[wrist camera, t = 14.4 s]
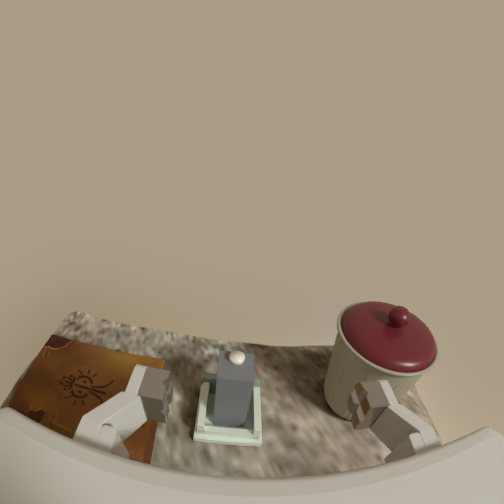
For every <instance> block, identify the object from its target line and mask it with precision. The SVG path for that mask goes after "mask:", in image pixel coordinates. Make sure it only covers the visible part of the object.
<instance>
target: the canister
mask: <svg viewBox="0 0 504 504" xmlns="http://www.w3.org/2000/svg"><path fill="white" fill-rule="evenodd" d="M337 329H338V334H337V337H336V341H335V345H334V348H333V352H332V355H331V359H330V362H329V366H328V370H327V374H326V377H325V382H324V395H325V399H326V400H327V403H328V405H329V406H330V408H331V409H332V410H333V411H334V412H336V413H337V415H340V416H341V417H342V418H345V419H346V420H351V417H352V415H353V414H352V413H350V412H349V410H348V407H347V401H348V397H349V395H350V393H351V392H353V391H354V390H355V388H354V386H355V385H356V383H358V382H363V381H375V380H376V381H377V380H387V381H388V382H389V384H390V386H391V388H392V391H393V393H394V395H395V397H396V399H397V402H398V401H399V400H400V399H401V398H402V397H403V396H404V395H405V394H406V393H407V391H408V390H409V389H410V388H411V387H412V386H413V385H414V384H415V383H416V382H417V381H418V379H419V378H420V377H421V376H422V375H423V374H424V373H426V372H428V371H429V370H430V369H432V368H433V367H434V365H435V364H436V362H437V360H438V356H439V349H438V344H437V341H436V339H435V337H434V336H433V334H432V333H431V331H430V330H429V328H428V327H427V326H426V325H425V324H424V323H423V322H422V321H421V320H420V319H419V318H417V317H416V316H415V315H413V314H412V313H410V312H409V311H408V310H407V309H406V308H405V307H402V306H395V305H392V304H388V303H383V302H360V303H354V304H351V305H349V306H347V307H346V308H344V309H343V310H342V311H341V313H340V314H339V316H338V319H337Z"/></svg>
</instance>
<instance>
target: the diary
mask: <svg viewBox="0 0 504 504" xmlns="http://www.w3.org/2000/svg"><path fill="white" fill-rule="evenodd" d="M137 364H139V365H144V366H148V367H153V368H157V369H162V370H164V366H165V360H163V359H157V358H151V357H145V356H139V355H134V354H129V353H124V352H119V351H114V350H110V349H105V348H101V347H97V346H92V345H88V344H84V343H81V342H77V341H73V340H70V339H66V338H62V337H59V336H56V335H51V337H50V338H49V340H48V341H47V343H46V344H45V346H44V347H43V348H42V350H41V351H40V353H39V354H38V356H37V358H36V359H35V361H34V362H33V364H32V365H31V367H30V368H29V370H28V372H27V373H26V375H25V376H24V378H23V380H22V381H21V383H20V385H19V386H18V388H17V390H16V392H15V393H14V395H13V397H12V399H11V401H10V402H9V407H10V408H12V409H14V410H16V411H18V412H19V413H21V414H23V415H24V416H26V417H28V418H30V419H31V420H33V421H35V422H37V423H39V424H41V425H43V426H45V427H47V428H49V429H51V430H53V431H55V432H57V433H59V434H62V435H64V436H66V437H68V438H71V439H73V438H74V435H75V433H76V430H77V428H78V426H79V423H80V421H81V419H82V417H83V416H84V415H85V414H87V413H88V412H90V411H92V410H93V409H95V408H96V407H98V406H100V405H101V404H103V403H104V402H106V401H107V400H109V399H111V398H112V397H114V396H115V395H117V394H118V393H120V392H121V391H122V392H125V390H126V387H127V384H128V382H129V379H130V377H131V374H132V372H133V370H134V367H135V366H136V365H137ZM157 423H158V421H153V420H148V419H147V421H146V422H145V423H144V424H142V425H141V426H140V427H139V428H138V429H137V430H136V431H135V432H133V433H132V434H131V435H130V436H129V437H128V438H127V439H126V440H124V441H123V444H124V446H125V447H126V449H127V451H128V453H129V454H130V455H129V459H131V460H135V461H139V462H143V463H147V464H150V461H151V455H152V450H153V444H154V439H155V434H156V428H157Z"/></svg>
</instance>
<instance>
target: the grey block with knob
mask: <svg viewBox="0 0 504 504" xmlns="http://www.w3.org/2000/svg"><path fill="white" fill-rule="evenodd" d="M254 383H255V371H254V354H250V353H243V352H241V351H232V352H230V351H221V350H220V353H219V362H218V372H217V382H216V394H215V406H214V420H213V425H222V426H234V427H244V423H245V419H246V415H247V411H248V407H249V403H250V399H251V395H252V391H253V387H254Z"/></svg>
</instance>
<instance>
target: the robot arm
mask: <svg viewBox="0 0 504 504" xmlns="http://www.w3.org/2000/svg"><path fill="white" fill-rule="evenodd" d="M171 378H172V373H171V371H167V370H162V369H157V368H153V367H148V366H144V365H139V364H137V365H136V366H135V367H134V370H133V372H132V374H131V377H130V379H129V382H128V384H127V387H126V390H125V392H122V391H121V392H120V393H118V394H117V395H115V396H114V397H112V398H111V399H109V400H107V401H106V402H104V403H103V404H101V405H100V406H98V407H96V408H95V409H93V410H92V411H90V412H88V413H87V414H85V415H84V416H83V417H82V419H81V421H80V423H79V426H78V428H77V430H76V433H75V435H74V438H73V439H71V438H68V437H66V436H64V435H62V434H59V433H57V432H55V431H53V430H51V429H49V428H47V427H45V426H43V425H41V424H39V423H37V422H35V421H33V420H31V419H30V418H28V417H26V416H24V415H23V414H21V413H19V412H18V411H16V410H14V409H12V408H10V407H4V408H0V504H504V436H503V435H501V434H500V433H499V432H497V431H496V430H494V429H492V428H490V427H488V426H486V427H482V428H480V429H478V430H476V431H474V432H472V433H470V434H468V435H466V436H464V437H461V438H459V439H457V440H454V441H452V442H450V443H447V444H444V445H442V446H441V445H440V442H439V440H438V438H437V436H436V433H435V431H434V429H433V427H432V426H430V425H429V424H427V423H426V422H425V421H423V420H422V419H421V418H419V417H418V416H417V415H415V414H414V413H412V412H411V411H410V410H408V409H407V408H406V407H404V406H403V405H402V404H398V402H397V399H396V397H395V395H394V393H393V391H392V388H391V386H390V384H389V382H388V381H387V380H377V381H376V380H375V381H363V382H358V383H356V385H355V386H354V388H355V390H354V391H353V392H351V393H350V395H349V397H348V401H347V407H348V410H349V412H350V413H352V414H353V415H352V417H351V421H352V424H353V427H354V429H363V428H369V429H370V430H371V431H372V432H373V433H374V434H375V435H376V436H377V437H378V438H379V439H380V440H381V441H382V442H383V443H384V444H385V445H386V446H387V447H388V448H389V449H390V450H391V451H392V452H391V453H390V454H389V455H388V456H387V457H386V458H385V459H384V460H385V463H384V464H380V465H376V466H371V467H366V468H361V469H356V470H350V471H344V472H338V473H330V474H322V475H312V476H299V477H275V478H257V477H233V476H220V475H210V474H201V473H194V472H187V471H181V470H175V469H170V468H165V467H160V466H155V465H151V464H147V463H143V462H139V461H135V460H131V459H129V455H130V454H129V453H128V451H127V449H126V447H125V446H124V444H123V441H124V440H126V439H127V438H128V437H129V436H130V435H131V434H132V433H133V432H135V431H136V430H137V429H138V428H139V427H140V426H141V425H142V424H144V423H145V422H146V421H147V419H148V420H153V421H159V422H164V423H166V421H167V417H168V413H169V408H168V404H170V403H171V400H172V393H173V383H172V382H171Z"/></svg>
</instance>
